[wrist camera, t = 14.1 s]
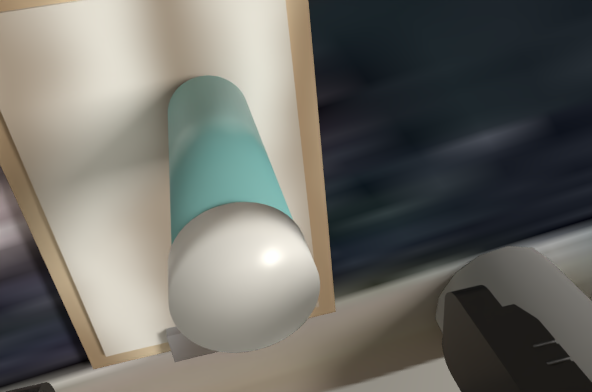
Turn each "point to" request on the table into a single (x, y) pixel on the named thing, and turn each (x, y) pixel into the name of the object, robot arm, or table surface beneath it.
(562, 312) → the cup
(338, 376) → the table surface
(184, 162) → the marker
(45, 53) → the clipboard
